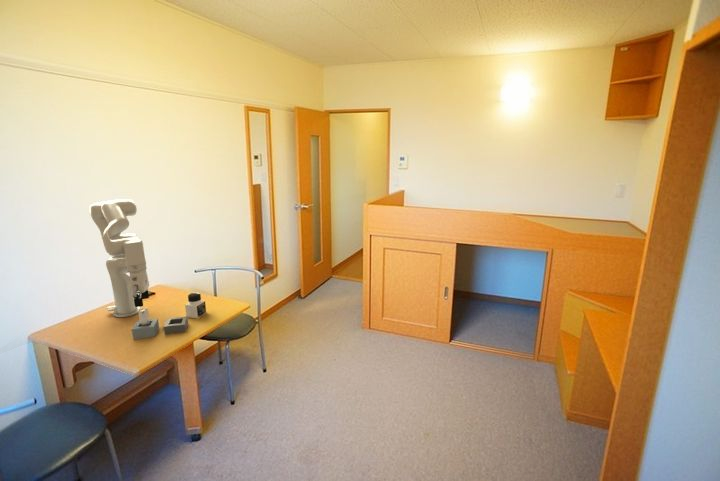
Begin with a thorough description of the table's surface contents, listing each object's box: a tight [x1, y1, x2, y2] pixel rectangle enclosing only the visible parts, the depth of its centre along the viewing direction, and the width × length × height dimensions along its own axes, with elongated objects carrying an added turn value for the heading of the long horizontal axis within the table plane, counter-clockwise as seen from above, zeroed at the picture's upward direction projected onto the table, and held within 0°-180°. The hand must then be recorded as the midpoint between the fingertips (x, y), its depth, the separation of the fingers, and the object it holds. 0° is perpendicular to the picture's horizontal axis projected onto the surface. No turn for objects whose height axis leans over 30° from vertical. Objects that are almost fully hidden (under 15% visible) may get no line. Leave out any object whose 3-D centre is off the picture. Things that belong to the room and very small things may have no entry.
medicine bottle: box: [184, 292, 207, 319], centre depth 191 cm, size 7×7×12 cm
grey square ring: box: [163, 315, 189, 335], centre depth 177 cm, size 9×9×4 cm
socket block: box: [131, 318, 160, 340], centre depth 173 cm, size 9×9×5 cm
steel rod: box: [137, 307, 150, 327], centre depth 172 cm, size 4×4×12 cm
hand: (142, 302), depth 169 cm, fingers open, 9 cm apart
